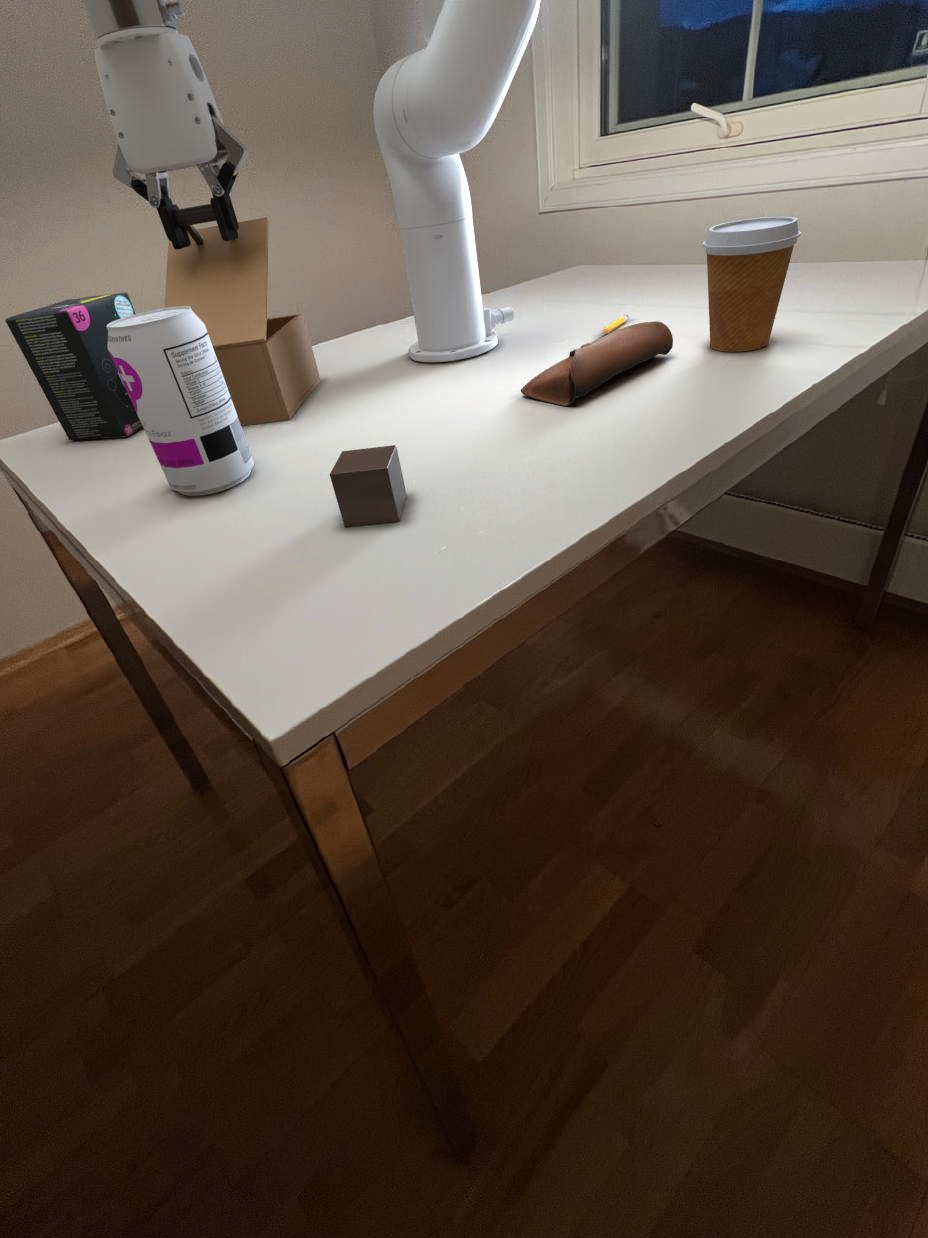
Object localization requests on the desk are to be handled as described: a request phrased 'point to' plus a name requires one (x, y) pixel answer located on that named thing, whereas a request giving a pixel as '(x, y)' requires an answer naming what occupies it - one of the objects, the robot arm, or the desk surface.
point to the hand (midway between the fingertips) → (206, 241)
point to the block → (369, 486)
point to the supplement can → (181, 399)
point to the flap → (221, 277)
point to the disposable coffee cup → (747, 279)
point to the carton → (271, 372)
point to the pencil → (615, 324)
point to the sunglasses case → (599, 362)
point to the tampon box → (79, 364)
